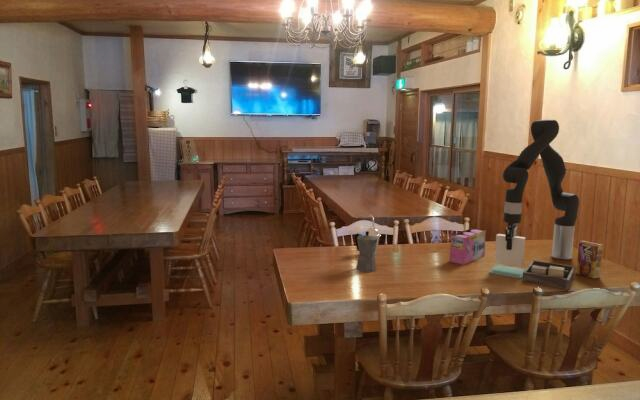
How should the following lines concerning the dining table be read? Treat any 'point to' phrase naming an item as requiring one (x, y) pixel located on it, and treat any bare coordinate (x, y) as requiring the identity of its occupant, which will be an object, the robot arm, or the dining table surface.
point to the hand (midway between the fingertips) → (509, 248)
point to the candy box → (589, 259)
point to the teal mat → (507, 271)
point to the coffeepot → (366, 252)
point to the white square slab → (510, 251)
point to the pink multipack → (467, 246)
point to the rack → (547, 279)
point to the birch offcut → (556, 271)
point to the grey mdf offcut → (539, 270)
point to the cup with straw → (374, 234)
